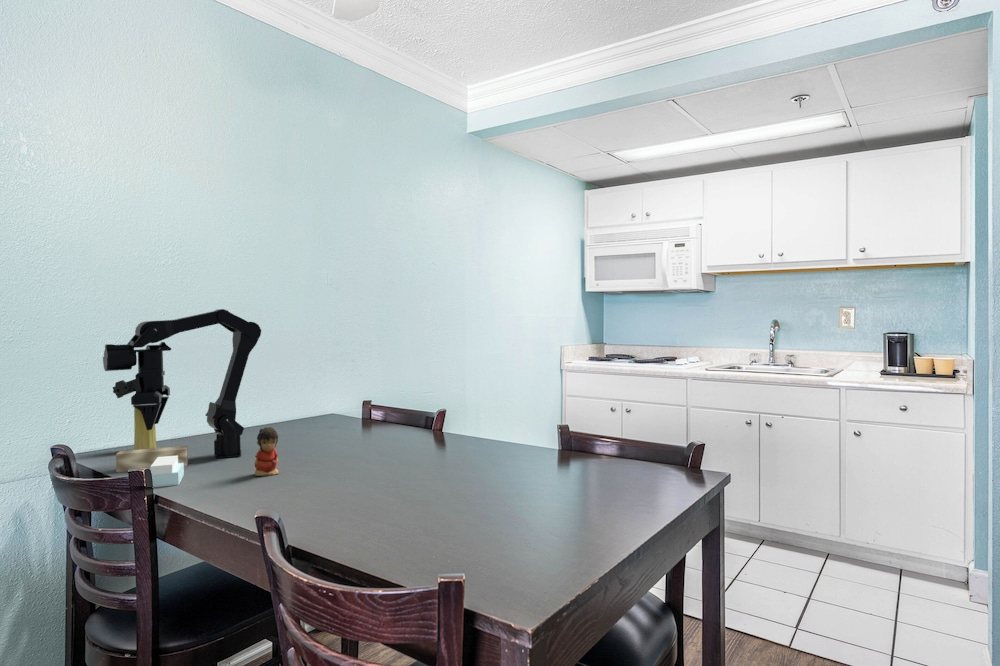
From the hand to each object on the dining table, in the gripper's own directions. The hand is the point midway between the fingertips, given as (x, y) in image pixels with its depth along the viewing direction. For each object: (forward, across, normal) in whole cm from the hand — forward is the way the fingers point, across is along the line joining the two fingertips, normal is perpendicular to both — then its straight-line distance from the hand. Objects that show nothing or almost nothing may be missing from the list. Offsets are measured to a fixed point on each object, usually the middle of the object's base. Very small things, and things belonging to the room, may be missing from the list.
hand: (152, 426), depth 157 cm
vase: (+11, -25, -6) cm, 28 cm away
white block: (+11, +16, +5) cm, 20 cm away
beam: (+11, 0, 0) cm, 11 cm away
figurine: (+11, +19, +28) cm, 36 cm away
